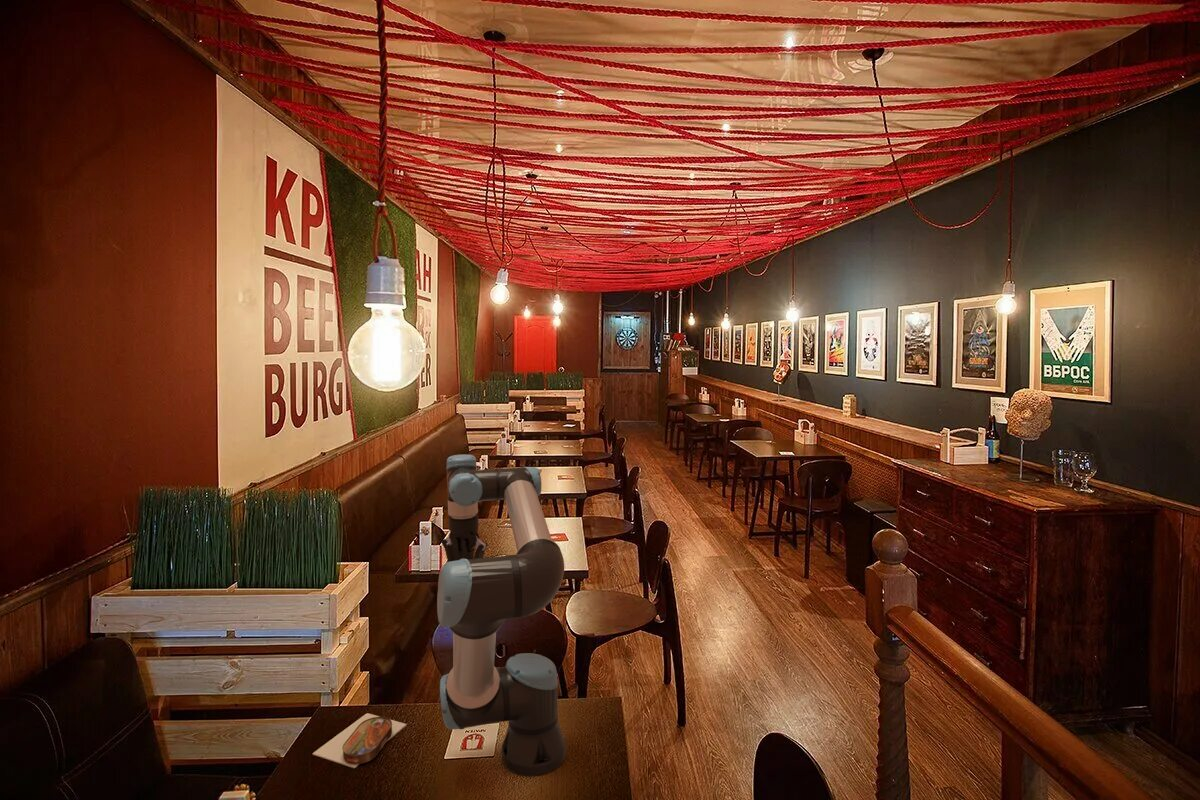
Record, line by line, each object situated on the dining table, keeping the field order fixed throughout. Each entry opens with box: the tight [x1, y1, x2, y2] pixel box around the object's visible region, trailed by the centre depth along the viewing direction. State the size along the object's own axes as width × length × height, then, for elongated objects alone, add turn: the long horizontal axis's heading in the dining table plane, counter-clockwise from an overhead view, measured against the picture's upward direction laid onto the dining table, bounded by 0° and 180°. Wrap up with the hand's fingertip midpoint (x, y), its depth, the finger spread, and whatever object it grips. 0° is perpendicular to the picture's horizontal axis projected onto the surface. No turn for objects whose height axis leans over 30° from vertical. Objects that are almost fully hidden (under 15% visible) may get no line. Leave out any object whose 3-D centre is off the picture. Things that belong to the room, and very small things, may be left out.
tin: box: [342, 716, 392, 765], centre depth 159 cm, size 15×3×8 cm
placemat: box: [312, 713, 407, 769], centre depth 161 cm, size 13×18×1 cm
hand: (466, 603), depth 171 cm, fingers closed
